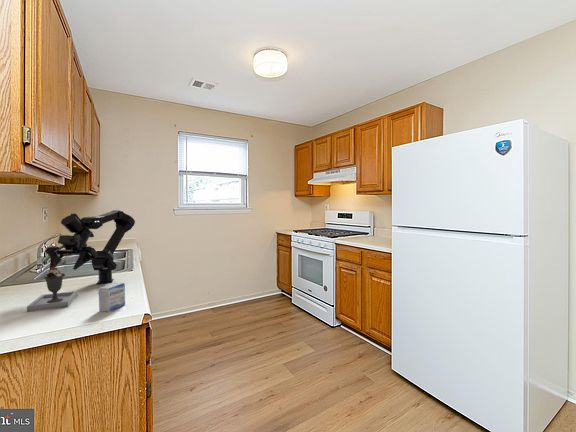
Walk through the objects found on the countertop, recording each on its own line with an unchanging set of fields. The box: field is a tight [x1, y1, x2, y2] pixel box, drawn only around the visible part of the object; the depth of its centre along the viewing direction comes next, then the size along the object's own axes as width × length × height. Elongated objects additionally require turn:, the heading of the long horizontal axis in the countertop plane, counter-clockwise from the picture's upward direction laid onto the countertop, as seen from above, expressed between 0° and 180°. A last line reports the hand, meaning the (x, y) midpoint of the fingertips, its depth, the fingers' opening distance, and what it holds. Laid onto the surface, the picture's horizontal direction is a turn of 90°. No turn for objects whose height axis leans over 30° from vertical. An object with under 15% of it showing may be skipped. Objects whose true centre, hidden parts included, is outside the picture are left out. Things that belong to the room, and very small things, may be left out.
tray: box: [26, 290, 78, 313], centre depth 112 cm, size 15×12×2 cm
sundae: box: [43, 263, 66, 303], centre depth 112 cm, size 7×7×15 cm
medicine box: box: [98, 282, 126, 313], centre depth 107 cm, size 8×4×9 cm, turn 168°
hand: (62, 269), depth 117 cm, fingers open, 9 cm apart
